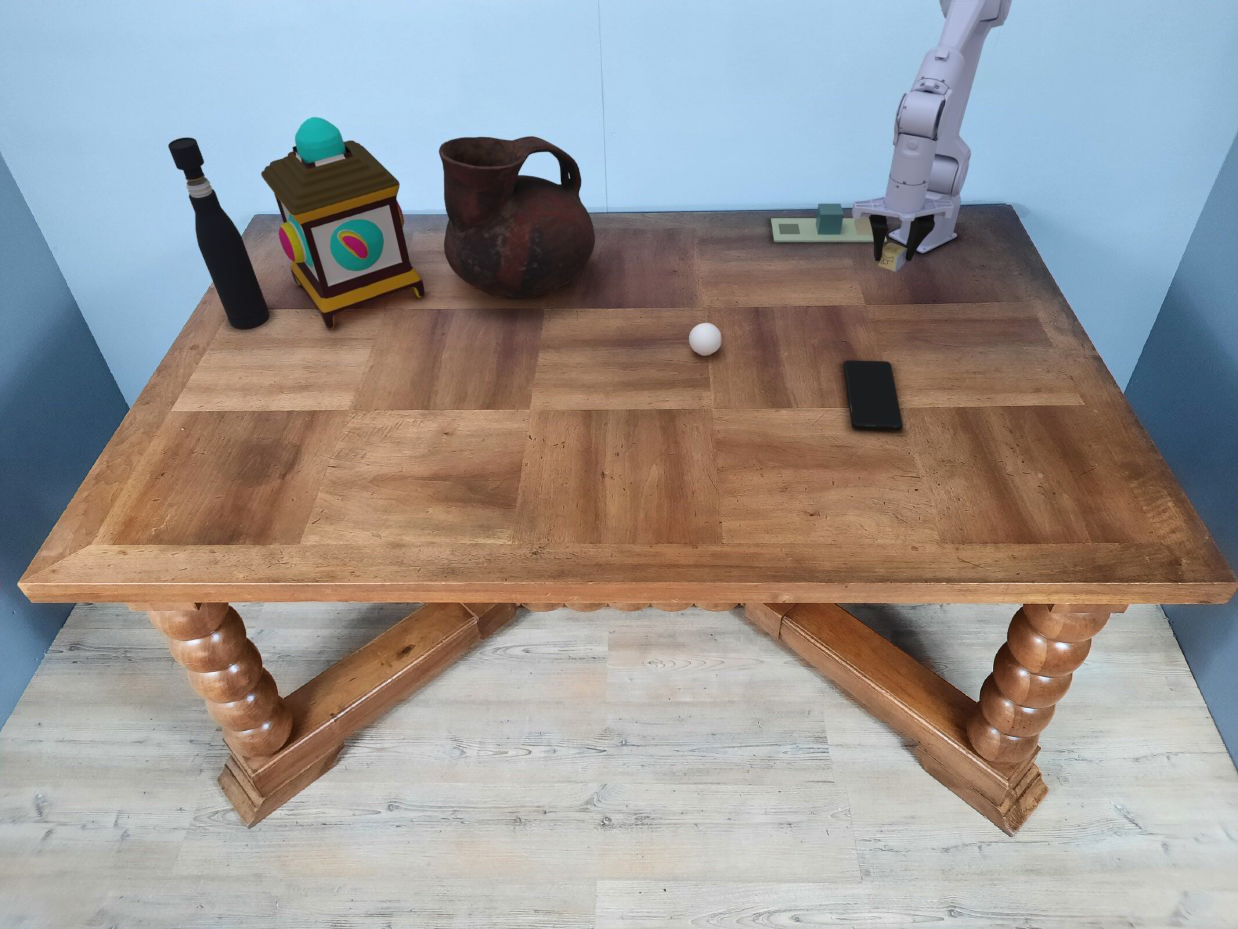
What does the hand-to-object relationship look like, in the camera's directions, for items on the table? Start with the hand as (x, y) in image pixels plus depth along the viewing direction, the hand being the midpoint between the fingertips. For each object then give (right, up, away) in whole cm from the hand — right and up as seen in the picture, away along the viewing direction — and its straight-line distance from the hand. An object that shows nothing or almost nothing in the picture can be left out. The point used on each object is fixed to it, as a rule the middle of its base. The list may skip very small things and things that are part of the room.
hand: (892, 257), depth 138 cm
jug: (-59, -1, +14) cm, 61 cm away
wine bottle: (-104, -8, +8) cm, 105 cm away
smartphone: (-6, -23, -11) cm, 26 cm away
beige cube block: (+2, +10, +22) cm, 24 cm away
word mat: (-5, +10, +23) cm, 25 cm away
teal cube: (-5, +11, +22) cm, 25 cm away
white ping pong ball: (-30, -15, -2) cm, 34 cm away
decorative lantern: (-87, -3, +13) cm, 88 cm away
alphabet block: (0, -1, +1) cm, 2 cm away
